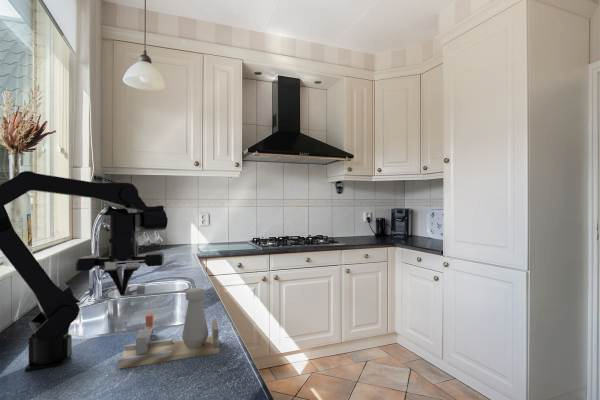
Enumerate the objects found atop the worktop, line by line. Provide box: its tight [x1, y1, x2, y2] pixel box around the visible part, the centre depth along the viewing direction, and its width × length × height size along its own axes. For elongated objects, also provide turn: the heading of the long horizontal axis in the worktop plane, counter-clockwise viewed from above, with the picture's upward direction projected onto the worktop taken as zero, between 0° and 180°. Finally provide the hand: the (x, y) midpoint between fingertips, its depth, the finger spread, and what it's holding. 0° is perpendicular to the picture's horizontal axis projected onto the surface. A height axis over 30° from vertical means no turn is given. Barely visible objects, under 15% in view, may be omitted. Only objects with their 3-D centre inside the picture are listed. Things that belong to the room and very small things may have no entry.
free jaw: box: [135, 312, 155, 356], centre depth 75 cm, size 2×16×4 cm, turn 19°
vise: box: [118, 318, 220, 369], centre depth 72 cm, size 20×7×5 cm, turn 109°
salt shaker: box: [182, 287, 209, 349], centre depth 74 cm, size 6×6×13 cm
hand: (122, 295), depth 80 cm, fingers closed
